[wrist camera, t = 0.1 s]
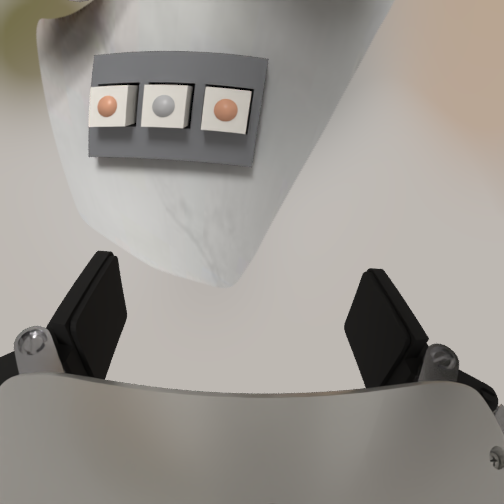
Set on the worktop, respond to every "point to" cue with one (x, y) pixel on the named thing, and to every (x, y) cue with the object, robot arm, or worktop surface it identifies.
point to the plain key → (166, 106)
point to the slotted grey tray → (192, 137)
